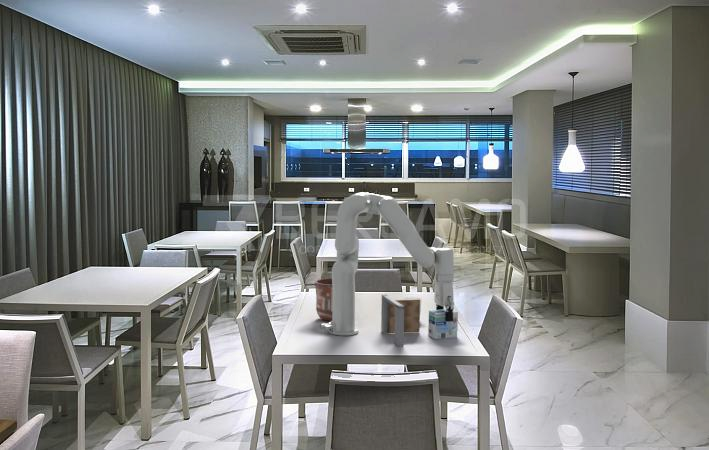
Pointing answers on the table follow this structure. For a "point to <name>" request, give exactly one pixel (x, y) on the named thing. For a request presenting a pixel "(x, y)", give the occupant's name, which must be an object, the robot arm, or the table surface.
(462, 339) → the table surface
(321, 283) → the pottery
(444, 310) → the light bulb box
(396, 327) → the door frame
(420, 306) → the white cup
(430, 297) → the table surface
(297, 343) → the table surface
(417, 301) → the door
